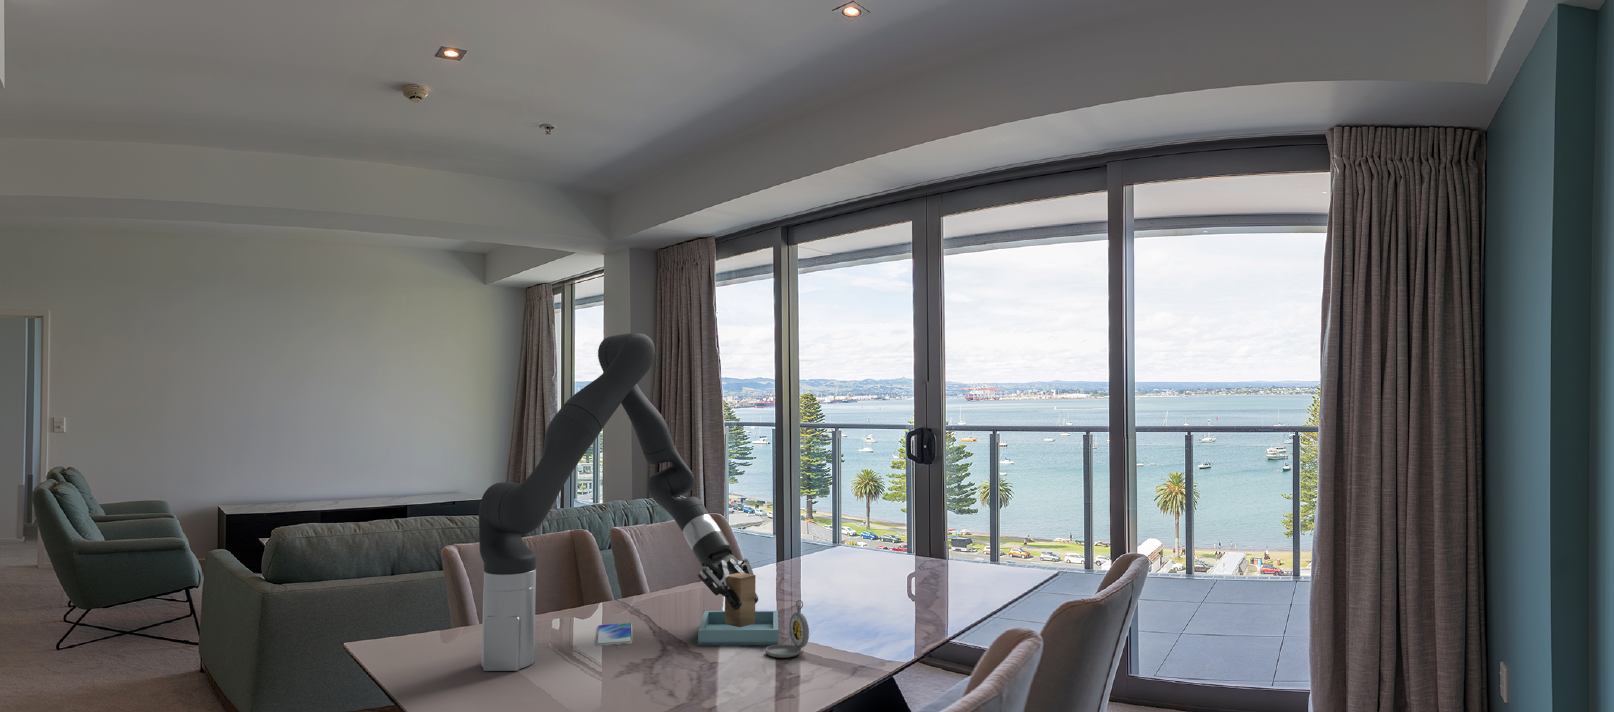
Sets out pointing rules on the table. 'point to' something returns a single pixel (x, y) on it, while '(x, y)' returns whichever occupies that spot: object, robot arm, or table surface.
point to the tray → (738, 630)
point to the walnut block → (746, 594)
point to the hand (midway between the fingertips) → (746, 604)
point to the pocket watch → (793, 637)
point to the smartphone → (614, 634)
